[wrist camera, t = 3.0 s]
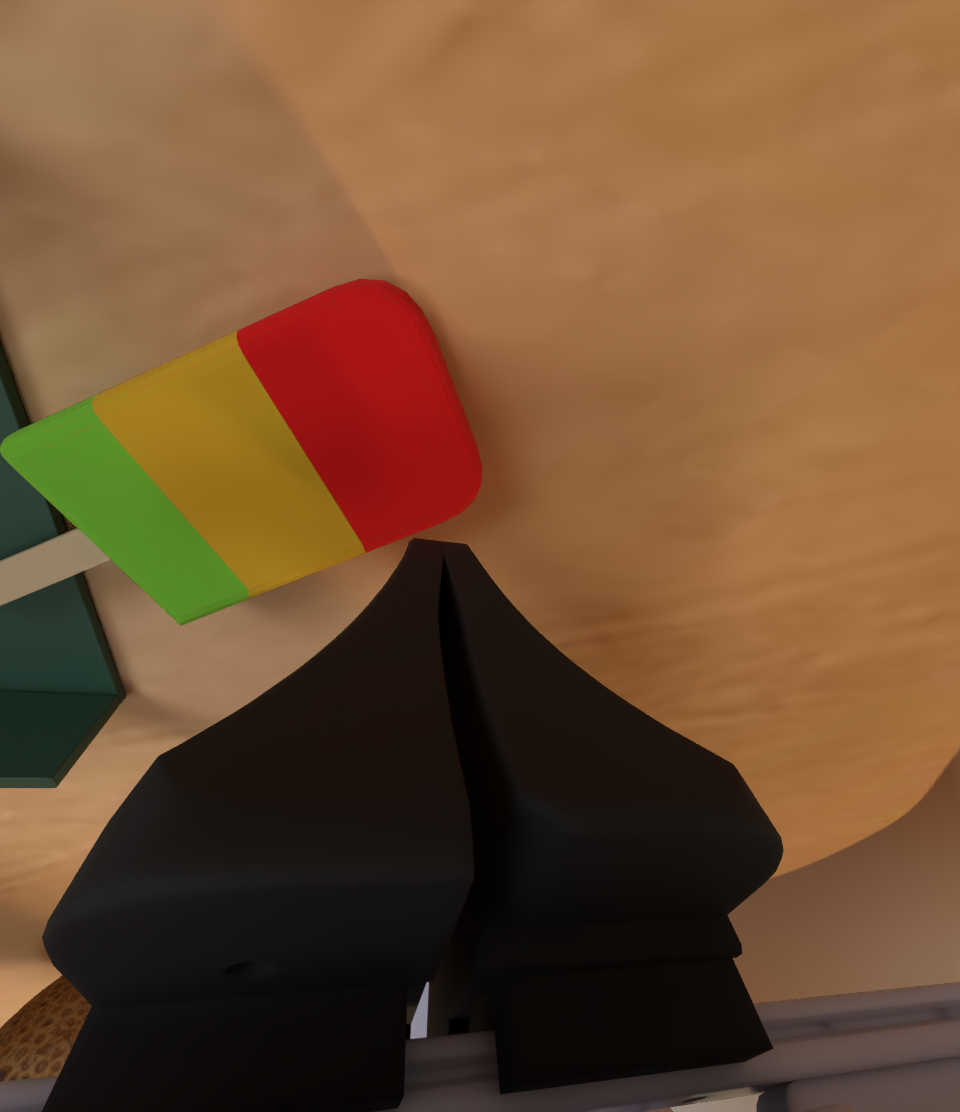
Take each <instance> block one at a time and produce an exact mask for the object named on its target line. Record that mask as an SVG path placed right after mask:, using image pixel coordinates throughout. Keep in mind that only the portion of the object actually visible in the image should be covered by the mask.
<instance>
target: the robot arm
mask: <svg viewBox="0 0 960 1112" xmlns="http://www.w3.org/2000/svg"><path fill="white" fill-rule="evenodd" d="M782 854H783V845H782V840H781V837H780V835H779V833H778V832H777V830H776V829H775V827H774V826H773V824H772V823H771V821H770V820H769V818H768V816H767V815H766V813H765V812H764V810H763V809H762V807H761V806H760V804H759V803H758V801H757V799H756V798H755V796H754V795H753V793H752V792H751V790H750V789H749V787H748V786H747V784H746V782H745V781H744V779H743V778H742V776H741V775H740V773H739V772H738V770H737V769H736V767H735V766H734V765H733V764H732V763H730V762H728V761H727V760H725V759H723V758H721V757H720V756H718V755H716V754H714V753H712V752H711V751H709V750H707V749H705V748H703V747H702V746H700V745H698V744H696V743H695V742H693V741H691V740H689V739H687V738H686V737H684V736H682V735H680V734H679V733H677V732H675V731H673V730H671V729H670V728H668V727H666V726H664V725H663V724H661V723H659V722H658V721H656V720H655V719H653V718H652V717H650V716H648V715H647V714H645V713H644V712H642V711H641V710H639V709H638V708H636V707H634V706H633V705H631V704H630V703H628V702H627V701H625V700H624V699H622V698H621V697H619V696H618V695H616V694H615V693H614V692H612V691H611V690H609V689H608V688H606V687H605V686H604V685H602V684H601V683H600V682H598V681H597V680H596V679H594V678H593V677H592V676H590V675H589V674H588V673H586V672H585V671H584V670H583V669H581V668H580V667H579V666H577V665H576V664H575V663H573V662H572V661H571V660H570V659H569V658H567V657H566V656H565V655H564V654H563V653H561V652H560V651H559V650H558V649H557V648H556V647H555V646H554V645H553V644H551V643H550V642H549V641H548V640H547V639H546V638H545V637H544V636H543V635H542V634H540V633H539V632H538V631H537V630H536V629H535V628H534V627H533V626H532V625H531V624H530V623H529V622H528V621H527V620H526V619H525V617H524V616H523V615H522V614H521V613H520V612H519V611H518V610H517V609H516V608H515V607H514V606H513V604H512V603H511V602H510V601H509V600H508V599H507V597H506V596H505V595H504V594H503V593H502V591H501V590H500V589H499V588H498V586H497V585H496V584H495V582H494V581H493V580H492V578H491V577H490V576H489V574H488V573H487V572H486V570H485V569H484V568H483V566H482V565H481V563H480V562H479V561H478V559H477V558H476V556H475V555H474V553H473V552H472V551H471V549H470V548H469V547H468V545H467V544H461V543H452V542H443V541H434V540H425V539H417V538H414V539H412V540H411V541H410V542H409V543H408V547H407V550H406V552H405V554H404V556H403V558H402V560H401V561H400V563H399V565H398V566H397V568H396V569H395V571H394V572H393V574H392V575H391V577H390V578H389V580H388V581H387V582H386V584H385V585H384V586H383V588H382V589H381V590H380V591H379V593H378V594H377V595H376V596H375V597H374V599H373V600H372V601H371V602H370V603H369V605H368V606H367V607H366V608H365V609H364V610H363V611H362V612H361V614H360V615H359V616H358V617H357V618H356V619H355V620H354V621H353V622H352V623H351V624H350V625H349V626H348V627H347V628H346V629H345V630H344V631H343V632H341V633H340V634H339V635H338V636H337V637H336V638H335V639H334V640H333V641H331V642H330V643H329V644H328V645H327V646H326V647H324V648H323V649H322V650H321V651H320V652H319V653H317V654H316V655H315V656H314V657H313V658H311V659H310V660H309V661H308V662H306V663H305V664H304V665H303V666H301V667H300V668H299V669H297V670H296V671H295V672H293V673H292V674H290V675H289V676H287V677H286V678H285V679H283V680H282V681H280V682H279V683H277V684H276V685H275V686H273V687H272V688H270V689H269V690H267V691H266V692H265V693H263V694H262V695H260V696H259V697H257V698H256V699H255V700H253V701H252V702H250V703H249V704H247V705H245V706H244V707H242V708H241V709H239V710H238V711H236V712H234V713H233V714H231V715H229V716H228V717H226V718H224V719H223V720H221V721H219V722H217V723H216V724H214V725H212V726H211V727H209V728H207V729H205V730H204V731H202V732H200V733H199V734H197V735H195V736H194V737H192V738H190V739H188V740H187V741H185V742H183V743H182V744H180V745H178V746H176V747H174V748H173V749H171V750H169V751H167V752H165V753H163V754H161V755H160V756H158V758H157V759H156V760H155V761H154V763H153V764H152V765H151V767H150V768H149V769H148V770H147V772H146V773H145V774H144V776H143V777H142V778H141V780H140V781H139V782H138V783H137V785H136V786H135V787H134V789H133V790H132V791H131V793H130V794H129V795H128V797H127V798H126V799H125V801H124V802H123V803H122V805H121V806H120V807H119V809H118V810H117V811H116V813H115V814H114V815H113V817H112V818H111V819H110V821H109V822H108V824H107V825H106V827H105V828H104V830H103V831H102V833H101V835H100V836H99V838H98V840H97V841H96V843H95V844H94V846H93V848H92V849H91V851H90V853H89V854H88V856H87V857H86V859H85V861H84V862H83V864H82V866H81V867H80V869H79V871H78V872H77V874H76V875H75V877H74V879H73V880H72V882H71V884H70V885H69V887H68V889H67V890H66V892H65V893H64V895H63V897H62V898H61V900H60V902H59V903H58V905H57V907H56V908H55V910H54V911H53V913H52V915H51V916H50V918H49V920H48V922H47V925H46V928H45V931H44V934H43V936H42V939H43V943H44V946H45V949H46V951H47V953H48V955H49V957H50V959H51V961H52V963H53V965H54V966H55V967H56V968H57V970H58V971H59V972H60V973H61V974H62V975H63V976H64V977H65V978H66V979H67V980H68V981H69V982H70V983H71V984H72V986H73V987H74V988H75V989H76V990H77V991H78V992H79V993H80V994H81V995H82V996H83V997H84V998H85V999H86V1000H87V1002H88V1003H89V1004H90V1005H91V1006H92V1007H91V1009H90V1011H89V1013H88V1015H87V1017H86V1019H85V1021H84V1023H83V1026H82V1028H81V1030H80V1032H79V1034H78V1036H77V1038H76V1040H75V1042H74V1044H73V1047H72V1049H71V1051H70V1053H69V1055H68V1057H67V1059H66V1061H65V1063H64V1065H63V1068H62V1070H61V1072H60V1074H59V1076H51V1077H41V1078H31V1079H22V1080H12V1081H3V1082H0V1112H673V1111H672V1110H671V1109H670V1108H669V1107H674V1106H682V1105H688V1104H695V1103H702V1102H708V1101H715V1100H722V1099H728V1098H735V1097H742V1096H748V1095H754V1094H761V1093H763V1094H761V1095H760V1096H759V1099H758V1102H757V1112H960V982H954V983H944V984H934V985H925V986H915V987H906V988H896V989H886V990H877V991H867V992H858V993H848V994H838V995H829V996H820V997H810V998H800V999H791V1000H781V1001H773V1002H772V1001H771V1002H762V1003H753V1002H752V1000H751V998H750V996H749V993H748V991H747V989H746V987H745V985H744V983H743V980H742V978H741V976H740V974H739V972H738V969H737V967H736V965H735V963H734V960H733V958H736V957H738V956H739V955H740V954H742V947H741V943H740V941H739V939H738V937H737V934H736V932H735V930H734V928H733V926H732V924H731V922H730V920H729V918H728V916H727V915H728V914H729V913H730V912H731V911H732V910H734V909H735V908H736V907H737V906H738V905H740V904H741V903H742V902H743V901H744V900H745V899H747V898H748V897H749V896H750V895H751V894H753V892H755V891H756V890H757V889H758V888H759V887H761V886H762V885H763V884H764V883H765V882H766V881H767V880H768V879H769V878H770V877H771V876H772V875H773V874H774V873H775V872H776V870H777V868H778V866H779V863H780V861H781V859H782Z"/></svg>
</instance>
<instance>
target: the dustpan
mask: <svg viewBox="0 0 960 1112" xmlns="http://www.w3.org/2000/svg"><path fill="white" fill-rule="evenodd" d="M27 426H29V424H28V421H27V418H26V415H25V412H24V410H23V407H22V404H21V401H20V398H19V396H18V393H17V390H16V387H15V384H14V381H13V379H12V376H11V373H10V370H9V367H8V365H7V362H6V359H5V356H4V353H3V351H2V348H1V345H0V446H1V444H2V442H3V440H4V439H5V438H6V437H8V436H9V435H10V434H12V433H14V432H16V431H18V430H20V429H22V428H24V427H27ZM65 533H67V531H66V528H65V525H64V522H63V519H62V517H61V514H60V511H59V510H58V509H57V508H55V507H54V506H53V505H52V504H51V503H50V502H49V501H48V500H47V499H46V498H45V497H44V496H43V495H42V494H41V493H40V492H38V491H37V490H36V489H35V488H34V487H33V486H32V485H31V484H30V483H29V482H28V481H27V480H26V479H25V478H24V477H23V476H22V475H20V474H19V473H18V472H17V471H16V470H15V469H14V468H13V467H12V466H11V465H10V464H9V463H8V462H7V461H6V460H5V459H4V458H3V457H2V455H1V452H0V561H1V560H4V559H6V558H8V557H11V556H13V555H15V554H18V553H20V552H22V551H25V550H27V549H29V548H32V547H34V546H36V545H39V544H41V543H43V542H46V541H48V540H50V539H53V538H55V537H58V536H60V535H62V534H65ZM124 699H125V694H124V691H123V688H122V685H121V683H120V680H119V677H118V674H117V671H116V669H115V666H114V663H113V660H112V657H111V654H110V652H109V649H108V646H107V643H106V640H105V638H104V635H103V632H102V629H101V626H100V623H99V621H98V618H97V615H96V612H95V609H94V607H93V604H92V601H91V598H90V595H89V593H88V590H87V587H86V584H85V581H84V578H83V576H82V573H81V572H80V573H78V574H75V575H73V576H70V577H68V578H66V579H63V580H61V581H58V582H56V583H54V584H51V585H49V586H46V587H44V588H42V589H39V590H37V591H34V592H32V593H30V594H27V595H25V596H22V597H20V598H18V599H15V600H13V601H10V602H8V603H5V604H3V605H1V606H0V788H56V787H57V786H58V785H59V784H60V782H61V781H62V780H63V778H64V777H65V776H66V774H67V773H68V772H69V770H70V769H71V768H72V767H73V765H74V764H75V763H76V761H77V760H78V759H79V757H80V756H81V755H82V753H83V752H84V751H85V750H86V748H87V747H88V746H89V744H90V743H91V742H92V740H93V739H94V738H95V736H96V735H97V734H98V732H99V731H100V730H101V729H102V727H103V726H104V725H105V723H106V722H107V721H108V719H109V718H110V717H111V715H112V714H113V713H114V711H115V710H116V709H117V708H118V706H119V704H121V703H122V701H123V700H124Z"/></svg>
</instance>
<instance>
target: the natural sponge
mask: <svg viewBox="0 0 960 1112" xmlns="http://www.w3.org/2000/svg"><path fill="white" fill-rule="evenodd" d="M91 1007H92V1006H91V1005H90V1004H89V1003H88V1002H87V1000H86V999H85V998H84V997H83V996H82V995H81V994H80V993H79V992H78V991H77V990H76V989H75V988H74V987H73V986H72V984H71V983H70V982H69V981H68V980H67V979H66V978H65V977H64V976H61V977H60V978H58V979H57V980H56V981H54V982H53V983H52V984H50V985H49V986H47V987H46V988H45V989H43V990H42V991H41V992H40V993H38V994H37V995H36V996H35V997H34V998H32V999H31V1000H30V1001H29V1002H28V1003H26V1004H25V1005H24V1006H23V1007H22V1008H21V1009H20V1010H19V1011H18V1012H17V1013H16V1014H15V1015H14V1016H13V1017H11V1018H10V1019H9V1020H8V1021H7V1022H6V1023H5V1024H4V1025H3V1026H2V1027H1V1028H0V1082H3V1081H12V1080H22V1079H31V1078H41V1077H51V1076H59V1074H60V1072H61V1070H62V1068H63V1065H64V1063H65V1061H66V1059H67V1057H68V1055H69V1053H70V1051H71V1049H72V1047H73V1044H74V1042H75V1040H76V1038H77V1036H78V1034H79V1032H80V1030H81V1028H82V1026H83V1023H84V1021H85V1019H86V1017H87V1015H88V1013H89V1011H90V1009H91Z"/></svg>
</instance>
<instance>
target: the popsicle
mask: <svg viewBox="0 0 960 1112" xmlns="http://www.w3.org/2000/svg"><path fill="white" fill-rule="evenodd" d="M0 452H1V455H2V457H3V458H4V459H5V460H6V461H7V462H8V463H9V464H10V465H11V466H12V467H13V468H14V469H15V470H16V471H17V472H18V473H19V474H20V475H22V476H23V477H24V478H25V479H26V480H27V481H28V482H29V483H30V484H31V485H32V486H33V487H34V488H35V489H36V490H37V491H38V492H40V493H41V494H42V495H43V496H44V497H45V498H46V499H47V500H48V501H49V502H50V503H51V504H52V505H53V506H54V507H55V508H57V509H58V510H59V511H60V512H61V513H62V514H63V515H64V516H65V517H66V518H67V519H68V520H69V521H70V522H71V523H72V524H74V525H75V526H76V527H77V528H76V529H74V530H72V531H69V532H67V533H65V534H62V535H60V536H58V537H55V538H53V539H50V540H48V541H46V542H43V543H41V544H39V545H36V546H34V547H32V548H29V549H27V550H25V551H22V552H20V553H18V554H15V555H13V556H11V557H8V558H6V559H4V560H1V561H0V606H1V605H3V604H5V603H8V602H10V601H13V600H15V599H18V598H20V597H22V596H25V595H27V594H30V593H32V592H34V591H37V590H39V589H42V588H44V587H46V586H49V585H51V584H54V583H56V582H58V581H61V580H63V579H66V578H68V577H70V576H73V575H75V574H78V573H80V572H82V571H85V570H87V569H90V568H92V567H95V566H97V565H99V564H102V563H104V562H107V561H109V560H112V561H113V562H114V563H115V564H116V565H117V566H118V567H119V568H120V569H121V570H122V571H123V572H124V573H126V574H127V575H128V576H129V577H130V578H131V579H132V580H133V581H134V582H135V583H136V584H137V585H138V586H139V587H140V588H141V589H142V590H144V591H145V592H146V593H147V594H148V595H149V596H150V597H151V598H152V599H153V600H154V601H155V602H156V603H157V604H158V605H159V606H161V607H162V608H163V609H164V610H165V611H166V612H167V613H168V614H169V615H170V616H171V617H172V618H173V619H174V620H175V621H176V622H177V623H179V624H180V625H184V624H186V623H189V622H191V621H194V620H196V619H199V618H201V617H204V616H207V615H209V614H212V613H214V612H217V611H219V610H222V609H224V608H227V607H229V606H232V605H234V604H237V603H239V602H242V601H245V600H247V599H250V598H252V597H255V596H257V595H260V594H262V593H265V592H267V591H270V590H272V589H275V588H278V587H280V586H283V585H285V584H288V583H290V582H293V581H295V580H298V579H300V578H303V577H305V576H308V575H311V574H313V573H316V572H318V571H321V570H323V569H326V568H328V567H331V566H333V565H336V564H338V563H341V562H344V561H346V560H349V559H351V558H354V557H356V556H359V555H361V554H364V553H366V552H369V551H371V550H374V549H376V548H379V547H382V546H384V545H387V544H389V543H392V542H394V541H397V540H399V539H402V538H404V537H407V536H409V535H412V534H415V533H417V532H420V531H422V530H425V529H427V528H430V527H432V526H435V525H437V524H440V523H442V522H444V521H446V520H448V519H450V518H452V517H454V516H456V515H458V514H460V513H461V512H462V511H463V510H465V509H466V508H467V507H468V506H469V505H470V504H471V503H472V502H473V501H474V500H475V498H476V496H477V494H478V491H479V489H480V487H481V478H482V464H481V460H480V456H479V452H478V448H477V444H476V441H475V439H474V436H473V434H472V431H471V428H470V426H469V423H468V420H467V418H466V415H465V412H464V410H463V407H462V405H461V402H460V399H459V397H458V394H457V391H456V389H455V386H454V384H453V381H452V378H451V376H450V373H449V370H448V368H447V365H446V362H445V360H444V357H443V355H442V352H441V349H440V347H439V344H438V341H437V339H436V336H435V335H434V332H433V330H432V328H431V326H430V324H429V322H428V320H427V318H426V316H425V314H424V312H423V310H422V309H421V308H420V307H419V306H418V305H417V304H416V302H415V301H414V300H413V299H412V298H411V297H410V296H409V295H408V293H407V292H406V291H404V290H402V289H400V288H398V287H396V286H394V285H392V284H390V283H388V282H386V281H382V280H366V279H359V280H355V281H352V282H349V283H345V284H342V285H339V286H335V287H332V288H330V289H328V290H326V291H323V292H321V293H319V294H317V295H315V296H312V297H310V298H308V299H306V300H304V301H301V302H299V303H297V304H295V305H293V306H290V307H288V308H286V309H284V310H282V311H279V312H277V313H275V314H273V315H271V316H268V317H266V318H264V319H262V320H260V321H257V322H255V323H253V324H251V325H249V326H246V327H244V328H242V329H240V330H238V331H235V332H233V333H231V334H229V335H227V336H224V337H222V338H220V339H218V340H216V341H214V342H211V343H209V344H207V345H205V346H203V347H200V348H198V349H196V350H194V351H192V352H189V353H187V354H185V355H183V356H181V357H178V358H176V359H174V360H172V361H170V362H167V363H165V364H163V365H161V366H159V367H156V368H154V369H152V370H150V371H148V372H145V373H143V374H141V375H139V376H137V377H134V378H132V379H130V380H128V381H126V382H123V383H121V384H119V385H117V386H115V387H112V388H110V389H108V390H106V391H104V392H101V393H99V394H97V395H95V396H93V397H90V398H88V399H86V400H84V401H82V402H79V403H77V404H75V405H73V406H71V407H68V408H66V409H64V410H62V411H60V412H57V413H55V414H53V415H51V416H49V417H46V418H44V419H42V420H40V421H38V422H35V423H33V424H31V425H29V426H27V427H24V428H22V429H20V430H18V431H16V432H14V433H12V434H10V435H9V436H8V437H6V438H5V439H4V440H3V442H2V444H1V446H0Z"/></svg>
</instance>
